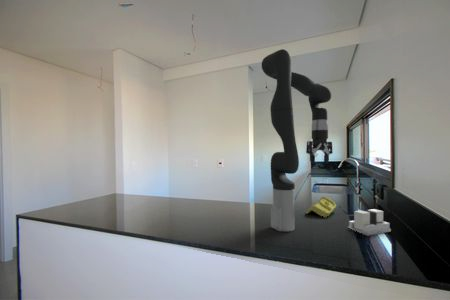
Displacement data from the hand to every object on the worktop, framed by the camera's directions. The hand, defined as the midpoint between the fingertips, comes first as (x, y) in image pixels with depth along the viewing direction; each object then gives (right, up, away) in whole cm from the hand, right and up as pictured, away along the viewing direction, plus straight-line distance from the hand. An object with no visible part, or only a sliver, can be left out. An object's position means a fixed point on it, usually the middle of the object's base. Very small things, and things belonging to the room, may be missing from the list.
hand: (319, 162), depth 113 cm
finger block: (+11, -27, -16) cm, 33 cm away
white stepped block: (+15, -28, -14) cm, 35 cm away
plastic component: (+7, -29, +13) cm, 32 cm away
